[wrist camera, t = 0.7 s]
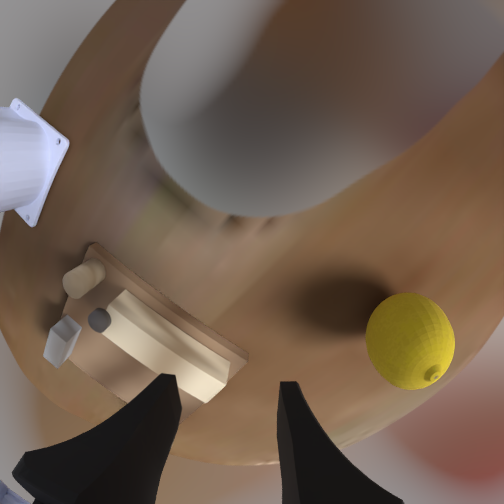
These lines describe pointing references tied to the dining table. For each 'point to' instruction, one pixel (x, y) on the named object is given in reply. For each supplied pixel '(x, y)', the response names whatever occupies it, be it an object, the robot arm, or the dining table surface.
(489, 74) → the dining table surface
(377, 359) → the lemon
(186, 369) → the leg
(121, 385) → the board
